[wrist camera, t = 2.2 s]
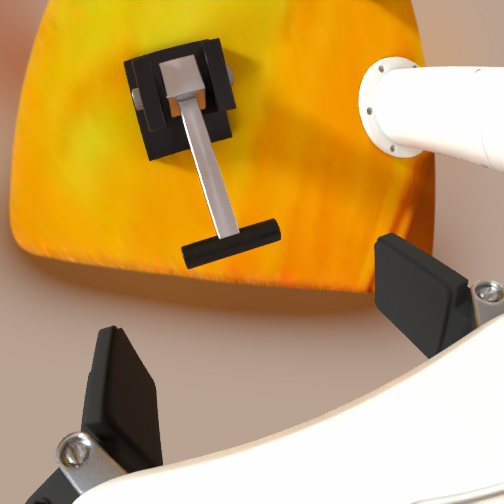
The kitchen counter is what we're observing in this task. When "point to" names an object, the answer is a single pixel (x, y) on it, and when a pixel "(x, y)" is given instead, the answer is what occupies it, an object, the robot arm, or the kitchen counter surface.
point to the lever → (208, 170)
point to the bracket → (155, 102)
